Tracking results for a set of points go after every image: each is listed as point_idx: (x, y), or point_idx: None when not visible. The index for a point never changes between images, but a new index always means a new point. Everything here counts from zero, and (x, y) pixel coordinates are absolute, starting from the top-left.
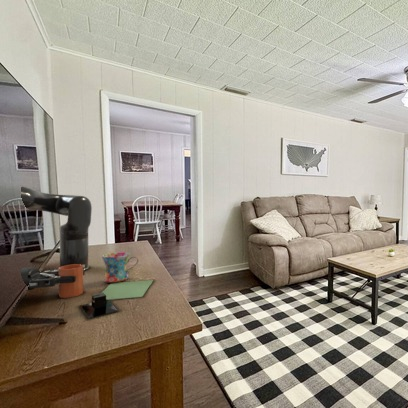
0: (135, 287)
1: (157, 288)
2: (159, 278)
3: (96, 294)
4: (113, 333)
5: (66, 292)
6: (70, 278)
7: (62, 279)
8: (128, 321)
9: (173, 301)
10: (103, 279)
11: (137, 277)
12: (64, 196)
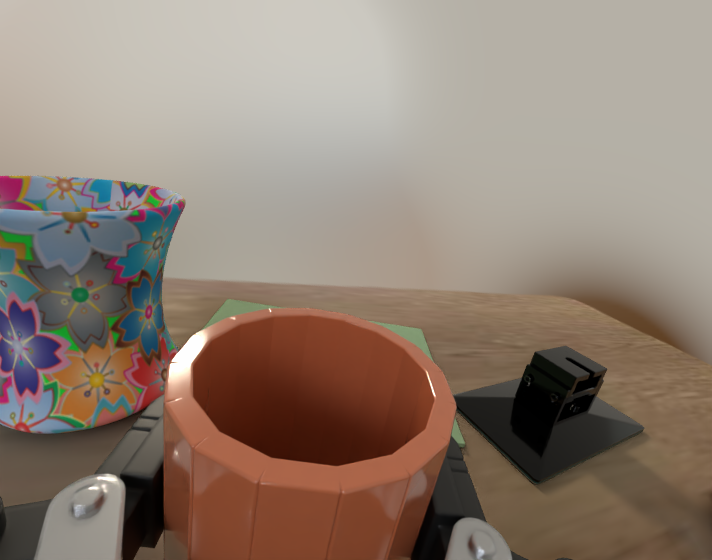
0: None
1: (336, 304)
2: (205, 290)
3: (568, 365)
4: (679, 377)
5: None
6: (453, 442)
7: (477, 510)
8: (604, 357)
9: (458, 299)
10: (90, 414)
11: None
12: None
